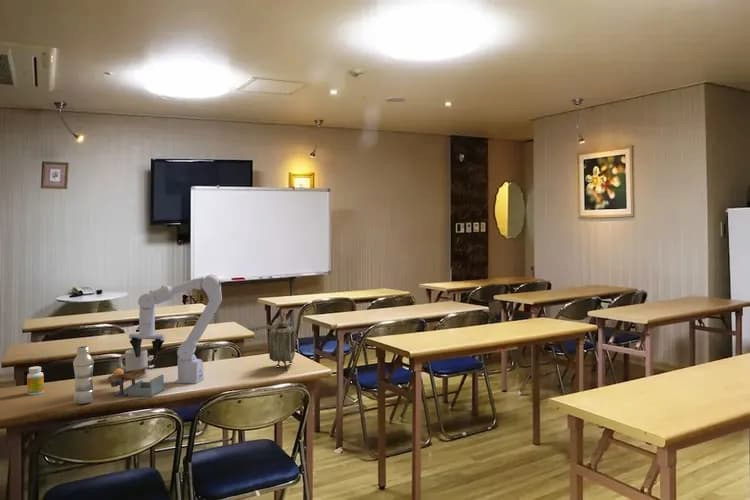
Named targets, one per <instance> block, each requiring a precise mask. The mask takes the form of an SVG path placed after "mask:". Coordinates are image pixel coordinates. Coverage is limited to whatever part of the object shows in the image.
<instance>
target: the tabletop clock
mask: <svg viewBox="0 0 750 500" xmlns="http://www.w3.org/2000/svg"><path fill="white" fill-rule="evenodd" d="M295 330H296V329H295V326H289V323H288V322H287V321H285V311H284V310H281V312H280V321H279V322H277V324H276V326H274V328H272V329H271V330H270V331H269V333H268V352H269V353H268V354H269V356H268V357H269V360H271V361H273V362H277V364H276V366H280V367H281V365H280V363H281V362H282V363H283V364H284V366H285V367H284V370H285V369H288V370H289V367H288V366H287V362H288V364H289V363H292V364H293V359H294V358H295V355H296V337H295V336H296V331H295ZM276 366H275V367H276Z"/></svg>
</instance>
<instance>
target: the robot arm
mask: <svg viewBox="0 0 750 500" xmlns="http://www.w3.org/2000/svg"><path fill="white" fill-rule="evenodd" d="M192 289H193V290H194V289H196V290H199V291H200V290H203V291H204V293H205V294H206V296H207V299H208V302H207V304H206V306H205V307H204V309H203V311H202V313H201V314H200V316H199V318H198V319H197V321H196V323H195V324H194V326H193V328H192V329H191V331H190V333H189V335H188V336H187V338H186V339H185V340H184V341H182V343H181V344H180V346H178V348H177V351H176V354H177V379H176V380H174V381H173V383H174V384H175V383H176V384H197V383H200V381H202V380H203V379H205V377H204V362H203V360H202V359H201V358H197V356H196V355H195V352H196V350H197V344H198V343H199V342H200V339H201V337H202V336H203V334H204V332H205V331H206V329H207V327H208V326H209V324H210V322H211V320H212V319H213V317H214V315H215V314H216V312H217V310H218V308H219V307H220V305H221V304H222V301H223V296H222V283H221V282H220V279H219V277H218V276H217V275H215V274H208V275H206V276H200V277H196V278H193V279H190V280H187V281H185V282H182V283H180V284H177V285H175V286H169V285H165V284H164V285H160V288H157V289H154V290H153V289H151V290H149V292H146V293H143V294H142V295H140V296H139V297H138V300H137V302H138V305H139V314H138V315H139V317H138V323H139V327H138V328H139V329H138V330H139V331H138V332H136V333H135V332H134V333H133V332H131V333H128V339H129V343H130V345H131V347H132V349H134V352H135V355H136V357H140V355H141V349H142V341H143V340H152V341H151V344H152V349H153V351H152V352H153V354H152V355H153V356H152V357H153V359H157V358H159V355H160V351H161V348H162V346H163V343H164V342H165V340H166V334H159V333H156V331H155V330H156V328H155V327H156V326H155V325H156V323H155V322H156V317H155V316H156V311H155V305H159V304H163V303H165V302H167V301H171V300H174V298H175V295H178V294H180V293H185V292H186V291H189V290H192Z"/></svg>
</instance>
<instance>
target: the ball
mask: <svg viewBox="0 0 750 500" xmlns="http://www.w3.org/2000/svg"><path fill="white" fill-rule="evenodd" d="M124 372H125V371H124V370H122V369H120V367H119V368H115V370H113V374H112V375H114V376H116V375H122V374H124Z"/></svg>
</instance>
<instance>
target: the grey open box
mask: <svg viewBox="0 0 750 500" xmlns="http://www.w3.org/2000/svg"><path fill="white" fill-rule="evenodd" d="M164 380H165V379H164V374H160V375H158V376H156V377H155V378H153V379H150V380H149V381H143V380H142V379H140V380H139V381H137V382H135V384H133V385H132V384H131V385H129V386H128V396H127V397H142V398H143V397H147V398H152V397H154V396H156V395H158V394H160V393H161V392H163V391H164V389H165V387H164V386H165V382H164Z"/></svg>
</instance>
